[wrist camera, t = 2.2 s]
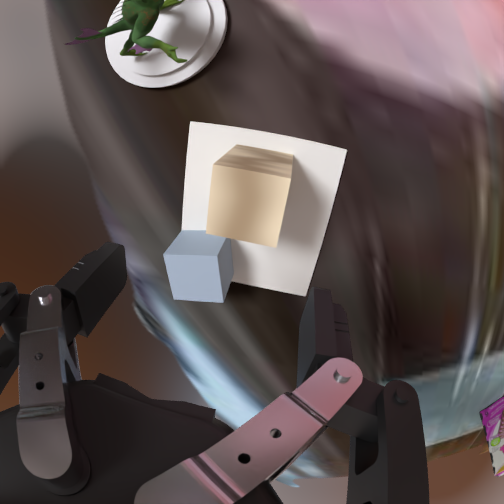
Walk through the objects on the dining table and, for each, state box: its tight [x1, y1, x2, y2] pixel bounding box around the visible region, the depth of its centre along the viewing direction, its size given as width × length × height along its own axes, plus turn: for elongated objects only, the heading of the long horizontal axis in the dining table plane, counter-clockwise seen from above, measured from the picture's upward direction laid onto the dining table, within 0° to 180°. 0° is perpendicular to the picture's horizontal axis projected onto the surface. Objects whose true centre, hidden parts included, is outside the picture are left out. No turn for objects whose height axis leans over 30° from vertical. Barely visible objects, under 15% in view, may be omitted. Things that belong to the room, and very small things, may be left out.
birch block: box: [206, 144, 293, 248], centre depth 23 cm, size 5×5×8 cm
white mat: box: [182, 121, 347, 296], centre depth 29 cm, size 14×16×1 cm
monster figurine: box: [65, 0, 228, 88], centre depth 17 cm, size 12×12×10 cm
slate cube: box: [163, 230, 234, 303], centre depth 29 cm, size 5×5×5 cm
